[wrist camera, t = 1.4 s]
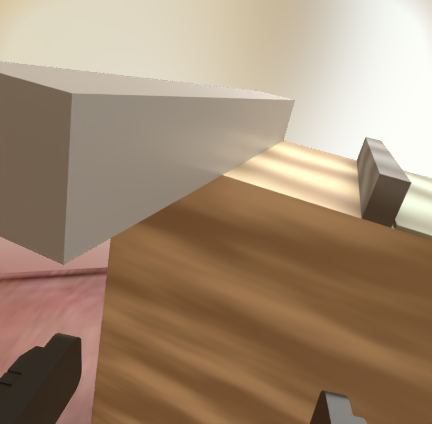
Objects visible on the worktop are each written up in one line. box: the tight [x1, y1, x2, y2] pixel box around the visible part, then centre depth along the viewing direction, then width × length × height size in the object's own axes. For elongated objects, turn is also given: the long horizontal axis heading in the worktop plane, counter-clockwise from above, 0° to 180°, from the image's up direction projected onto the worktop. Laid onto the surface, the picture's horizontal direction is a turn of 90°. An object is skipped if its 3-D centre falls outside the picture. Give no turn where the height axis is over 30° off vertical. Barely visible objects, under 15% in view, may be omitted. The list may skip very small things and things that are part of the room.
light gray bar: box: [0, 62, 295, 265], centre depth 19 cm, size 26×4×4 cm, turn 159°
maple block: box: [91, 137, 432, 424], centre depth 28 cm, size 16×21×34 cm
